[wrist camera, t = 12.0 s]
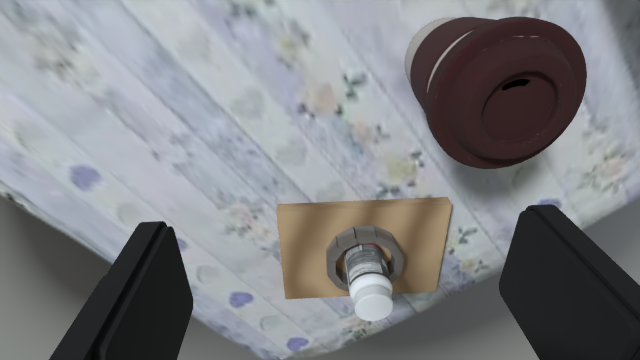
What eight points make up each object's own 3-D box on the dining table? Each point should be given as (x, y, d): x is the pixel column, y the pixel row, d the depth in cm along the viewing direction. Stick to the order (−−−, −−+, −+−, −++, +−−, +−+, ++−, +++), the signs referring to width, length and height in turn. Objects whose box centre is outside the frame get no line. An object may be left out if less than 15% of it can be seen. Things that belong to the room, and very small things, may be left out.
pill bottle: (380, 268, 47) (394, 323, 39) (343, 269, 47) (350, 324, 39) (384, 238, 44) (400, 292, 37) (344, 239, 44) (353, 293, 37)
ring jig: (447, 197, 44) (458, 214, 40) (432, 283, 51) (440, 303, 48) (277, 204, 43) (275, 222, 40) (285, 290, 50) (284, 311, 47)
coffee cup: (458, 120, 39) (536, 198, 26) (372, 88, 37) (410, 155, 24) (514, 25, 34) (643, 61, 21) (420, -18, 32) (500, -7, 19)
